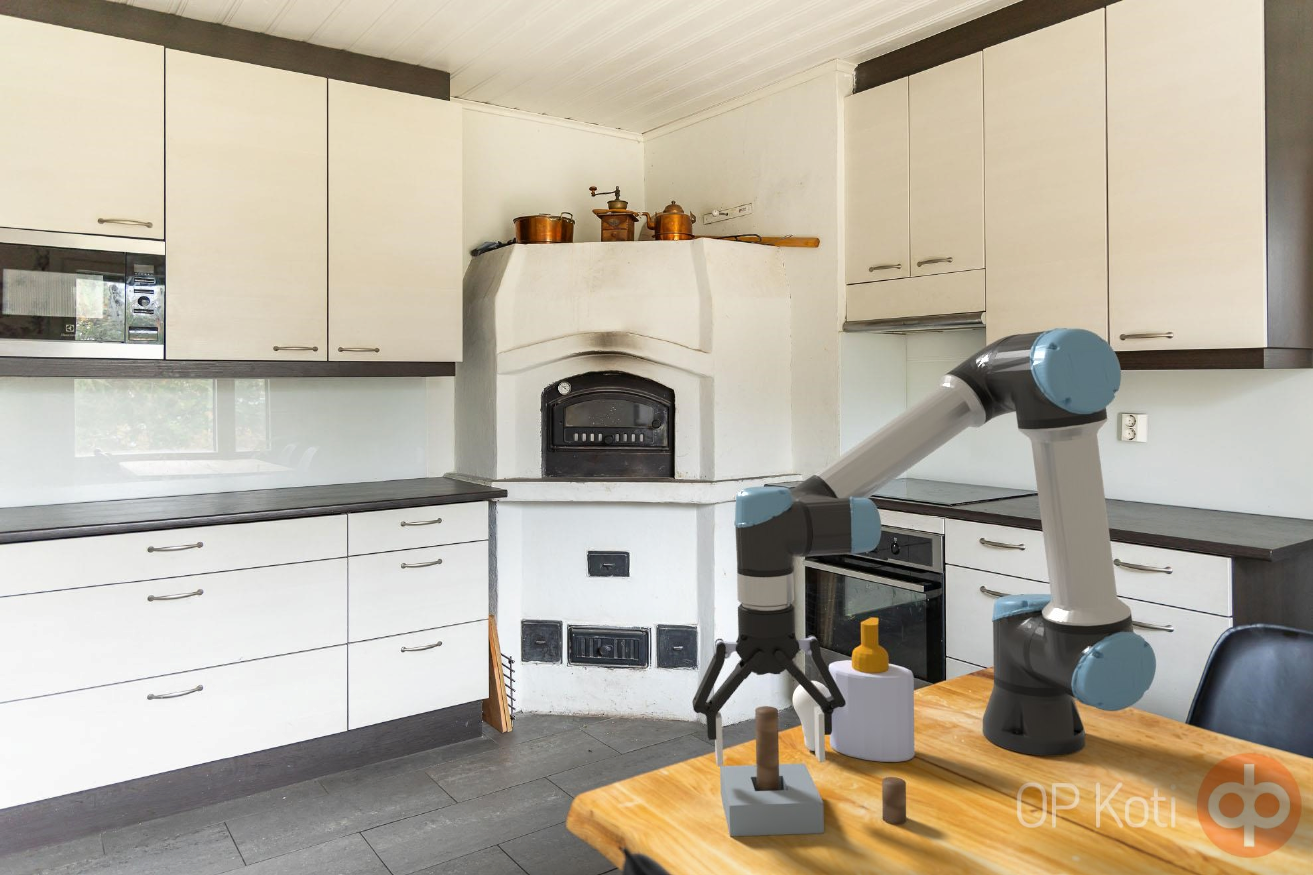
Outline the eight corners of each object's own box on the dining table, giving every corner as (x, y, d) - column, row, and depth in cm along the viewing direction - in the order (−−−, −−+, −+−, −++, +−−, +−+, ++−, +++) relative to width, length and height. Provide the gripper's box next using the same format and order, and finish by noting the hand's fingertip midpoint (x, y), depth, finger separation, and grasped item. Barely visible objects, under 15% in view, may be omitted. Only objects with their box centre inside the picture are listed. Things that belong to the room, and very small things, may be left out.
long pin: (777, 807, 119) (775, 705, 118) (781, 817, 116) (779, 713, 115) (755, 807, 118) (753, 706, 118) (758, 818, 115) (756, 714, 115)
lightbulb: (832, 759, 134) (831, 688, 133) (792, 757, 135) (791, 687, 134) (832, 743, 140) (831, 676, 139) (794, 741, 141) (793, 674, 140)
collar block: (805, 790, 123) (804, 763, 123) (823, 832, 111) (823, 802, 111) (720, 793, 123) (720, 765, 123) (730, 836, 111) (729, 805, 111)
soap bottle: (919, 748, 137) (918, 620, 136) (909, 768, 130) (907, 633, 129) (837, 735, 143) (835, 613, 142) (822, 753, 136) (820, 625, 135)
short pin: (902, 813, 116) (901, 776, 116) (909, 824, 113) (908, 786, 113) (879, 813, 116) (879, 777, 116) (886, 824, 113) (885, 787, 113)
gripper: (851, 593, 120) (855, 745, 121) (671, 600, 119) (675, 752, 120) (866, 606, 112) (869, 767, 113) (673, 613, 112) (678, 775, 113)
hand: (769, 760), depth 117 cm, fingers open, 13 cm apart
